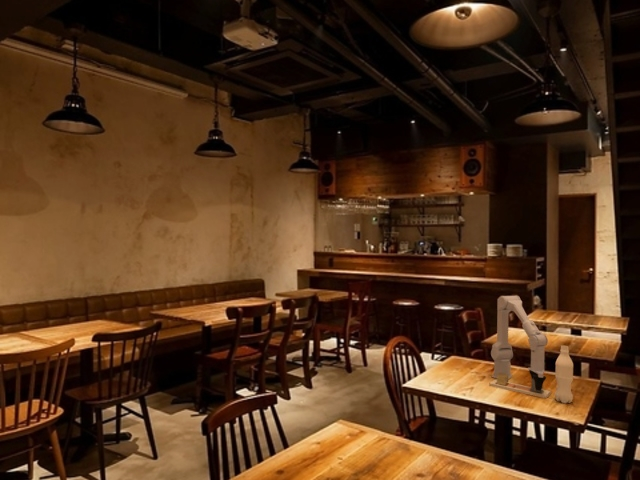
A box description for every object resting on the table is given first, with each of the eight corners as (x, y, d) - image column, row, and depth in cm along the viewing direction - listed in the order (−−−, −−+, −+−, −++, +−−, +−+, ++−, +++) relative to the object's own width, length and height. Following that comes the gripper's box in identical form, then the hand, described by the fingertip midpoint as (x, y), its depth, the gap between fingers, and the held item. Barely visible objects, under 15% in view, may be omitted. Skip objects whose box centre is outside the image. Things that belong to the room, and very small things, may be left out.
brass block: (499, 384, 230) (499, 372, 229) (507, 386, 227) (508, 374, 227) (496, 386, 226) (497, 374, 226) (505, 388, 224) (505, 375, 224)
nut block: (533, 389, 219) (533, 376, 219) (542, 391, 217) (542, 378, 217) (531, 391, 216) (531, 378, 216) (540, 393, 214) (540, 380, 214)
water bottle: (572, 400, 208) (573, 345, 208) (573, 405, 202) (574, 348, 201) (554, 397, 211) (555, 343, 211) (555, 402, 205) (556, 347, 204)
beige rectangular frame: (494, 381, 233) (494, 379, 233) (550, 393, 216) (550, 391, 216) (489, 385, 227) (489, 383, 227) (546, 398, 210) (546, 395, 210)
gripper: (525, 354, 224) (524, 382, 224) (531, 363, 210) (531, 392, 210) (540, 356, 223) (540, 383, 223) (548, 364, 208) (547, 393, 209)
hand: (536, 388), depth 216 cm, fingers closed on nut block, 5 cm apart
